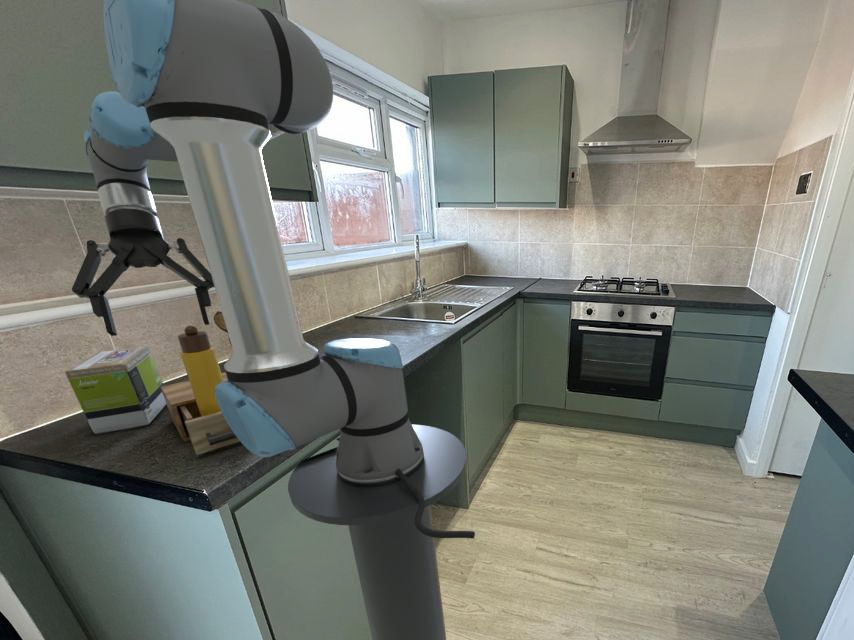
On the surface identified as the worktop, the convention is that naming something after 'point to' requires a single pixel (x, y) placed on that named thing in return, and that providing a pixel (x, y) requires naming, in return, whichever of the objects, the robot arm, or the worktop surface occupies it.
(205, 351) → the pepper mill
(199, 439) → the drawer
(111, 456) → the worktop surface
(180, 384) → the cabinet
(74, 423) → the worktop surface
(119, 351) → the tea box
